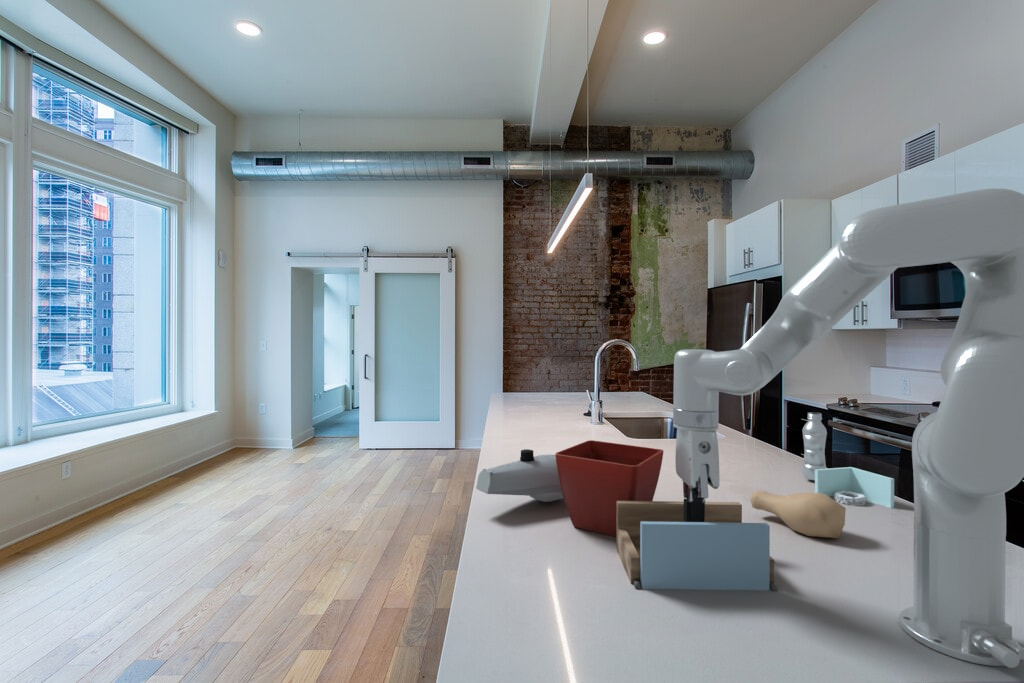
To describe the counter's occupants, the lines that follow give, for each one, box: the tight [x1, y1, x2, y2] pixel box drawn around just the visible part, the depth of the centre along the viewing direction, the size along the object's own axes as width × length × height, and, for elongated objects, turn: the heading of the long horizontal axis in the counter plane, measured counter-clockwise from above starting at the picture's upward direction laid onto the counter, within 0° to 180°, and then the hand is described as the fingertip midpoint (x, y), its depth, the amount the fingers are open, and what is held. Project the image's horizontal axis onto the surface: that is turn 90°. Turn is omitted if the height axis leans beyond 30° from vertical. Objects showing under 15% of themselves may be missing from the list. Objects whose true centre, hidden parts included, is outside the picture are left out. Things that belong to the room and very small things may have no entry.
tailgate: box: [640, 521, 771, 591], centre depth 84 cm, size 1×21×11 cm, turn 88°
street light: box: [475, 448, 564, 503], centre depth 128 cm, size 30×16×14 cm, turn 127°
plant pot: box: [554, 439, 664, 538], centre depth 114 cm, size 19×19×17 cm
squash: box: [749, 490, 846, 539], centre depth 112 cm, size 11×20×9 cm, turn 31°
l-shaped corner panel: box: [814, 466, 895, 509], centre depth 130 cm, size 12×12×8 cm
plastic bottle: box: [801, 412, 828, 482], centre depth 150 cm, size 6×7×20 cm
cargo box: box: [615, 500, 778, 592], centre depth 92 cm, size 16×24×10 cm
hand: (693, 522), depth 89 cm, fingers closed
